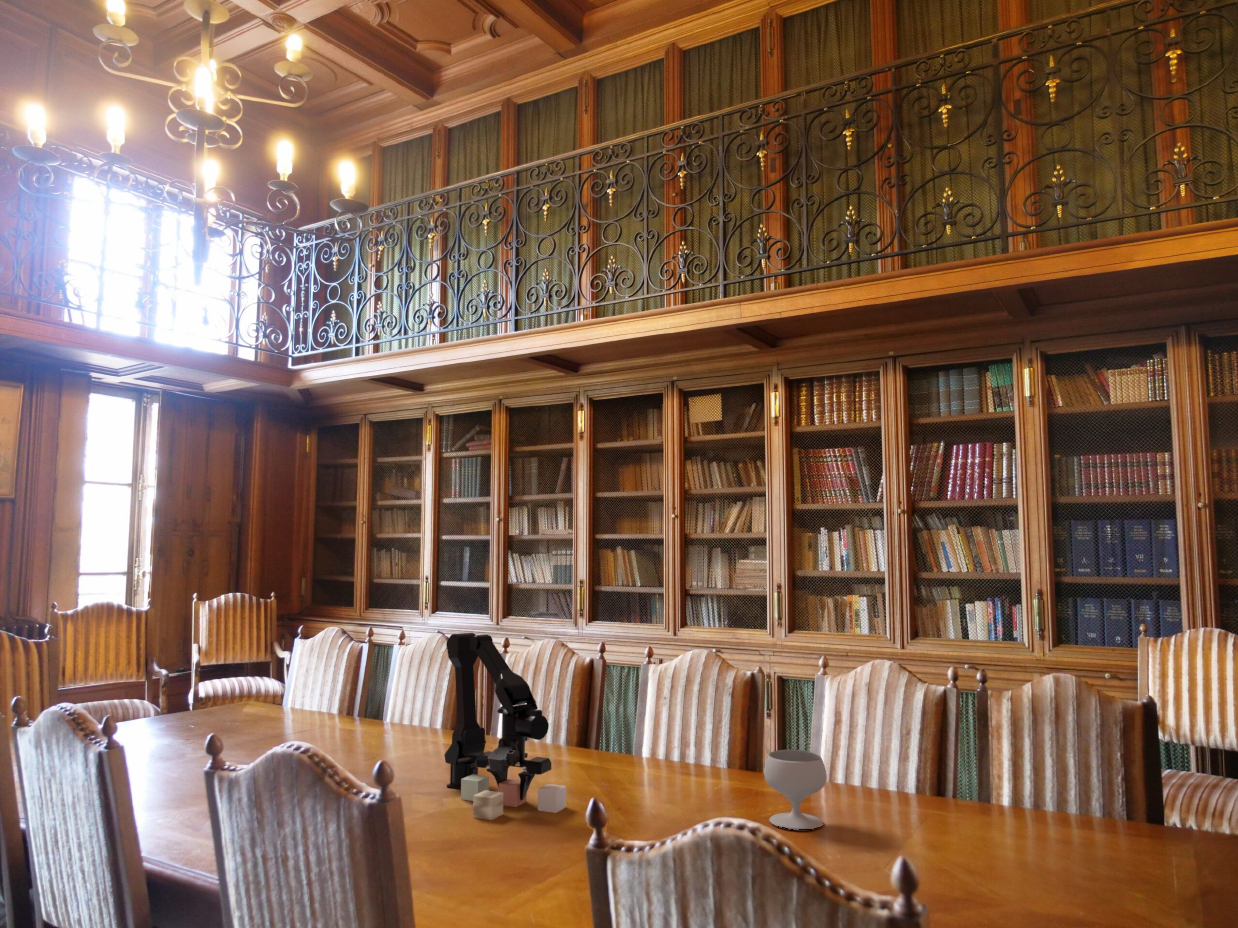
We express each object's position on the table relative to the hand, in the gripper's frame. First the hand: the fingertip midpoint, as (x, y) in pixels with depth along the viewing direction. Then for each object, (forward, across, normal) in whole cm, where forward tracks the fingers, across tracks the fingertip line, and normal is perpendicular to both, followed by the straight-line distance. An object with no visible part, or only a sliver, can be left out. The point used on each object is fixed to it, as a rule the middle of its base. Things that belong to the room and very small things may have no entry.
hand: (512, 798), depth 206 cm
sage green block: (+1, -11, 0) cm, 11 cm away
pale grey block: (+1, +11, 0) cm, 11 cm away
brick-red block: (+1, 0, 0) cm, 1 cm away
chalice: (+1, +67, +13) cm, 68 cm away
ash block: (+1, 0, -11) cm, 11 cm away
